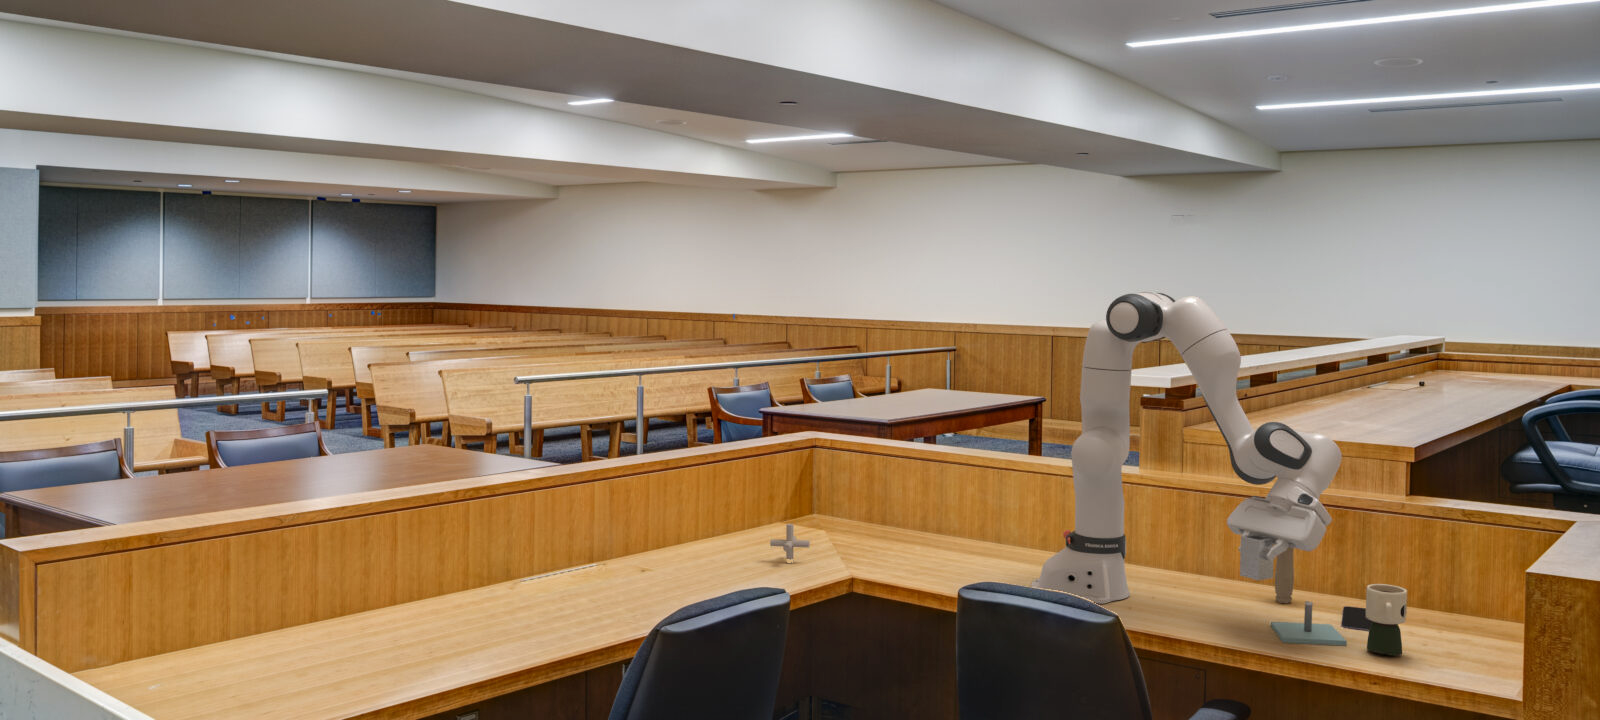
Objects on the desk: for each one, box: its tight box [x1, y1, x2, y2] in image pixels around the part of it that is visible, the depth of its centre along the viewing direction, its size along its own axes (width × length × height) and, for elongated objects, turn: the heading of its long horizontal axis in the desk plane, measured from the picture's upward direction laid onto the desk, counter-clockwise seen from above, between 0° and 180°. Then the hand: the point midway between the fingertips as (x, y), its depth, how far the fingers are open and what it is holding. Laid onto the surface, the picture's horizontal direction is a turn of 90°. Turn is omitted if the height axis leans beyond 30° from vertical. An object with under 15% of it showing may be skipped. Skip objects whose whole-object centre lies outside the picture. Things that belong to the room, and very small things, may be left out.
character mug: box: [1365, 583, 1408, 657], centre depth 225 cm, size 11×7×13 cm, turn 159°
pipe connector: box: [769, 523, 811, 560], centre depth 295 cm, size 10×10×10 cm
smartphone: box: [1340, 605, 1374, 632], centre depth 247 cm, size 7×1×15 cm
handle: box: [1274, 543, 1295, 604], centre depth 260 cm, size 5×6×15 cm
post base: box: [1270, 601, 1347, 647], centre depth 236 cm, size 12×11×7 cm
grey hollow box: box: [1239, 534, 1275, 581], centre depth 232 cm, size 4×5×8 cm
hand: (1254, 555), depth 231 cm, fingers closed on grey hollow box, 5 cm apart
